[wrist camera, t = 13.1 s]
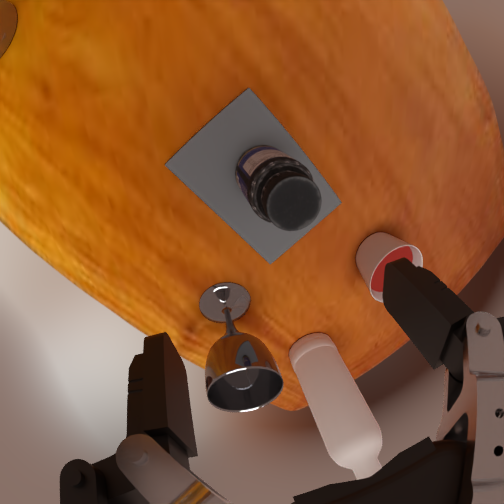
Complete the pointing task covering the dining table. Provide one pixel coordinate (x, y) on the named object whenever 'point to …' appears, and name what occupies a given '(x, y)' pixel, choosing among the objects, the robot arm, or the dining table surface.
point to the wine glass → (237, 355)
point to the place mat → (224, 165)
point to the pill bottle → (278, 188)
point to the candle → (382, 259)
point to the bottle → (337, 405)
